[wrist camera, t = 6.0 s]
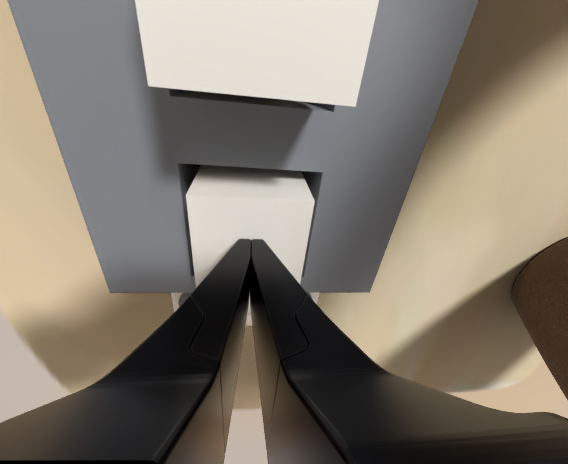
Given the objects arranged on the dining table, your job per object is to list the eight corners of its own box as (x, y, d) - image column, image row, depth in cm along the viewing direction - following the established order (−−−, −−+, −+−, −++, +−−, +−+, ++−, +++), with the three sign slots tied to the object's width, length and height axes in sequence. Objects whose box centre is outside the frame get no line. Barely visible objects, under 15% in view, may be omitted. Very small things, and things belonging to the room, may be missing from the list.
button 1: (297, 162, 12) (314, 201, 8) (287, 236, 14) (298, 290, 11) (205, 156, 11) (185, 195, 8) (210, 234, 13) (196, 291, 10)
